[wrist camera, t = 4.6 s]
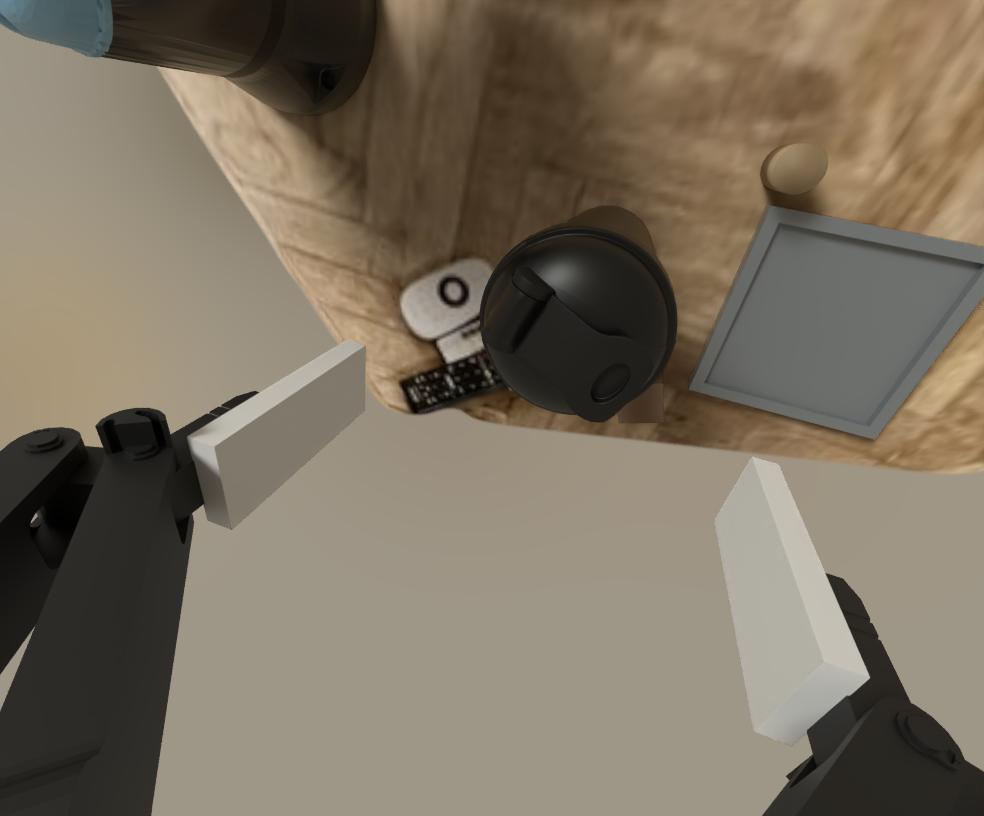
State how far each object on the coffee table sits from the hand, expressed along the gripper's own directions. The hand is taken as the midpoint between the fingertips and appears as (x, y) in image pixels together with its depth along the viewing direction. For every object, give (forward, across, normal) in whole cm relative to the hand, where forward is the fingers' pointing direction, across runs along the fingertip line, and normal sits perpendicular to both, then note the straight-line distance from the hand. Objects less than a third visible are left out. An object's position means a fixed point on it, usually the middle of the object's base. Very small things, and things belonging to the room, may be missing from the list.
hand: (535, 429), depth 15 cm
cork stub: (+29, +11, +9) cm, 33 cm away
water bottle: (+30, 0, 0) cm, 30 cm away
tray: (+29, +19, -1) cm, 35 cm away
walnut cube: (+30, +7, -11) cm, 32 cm away
